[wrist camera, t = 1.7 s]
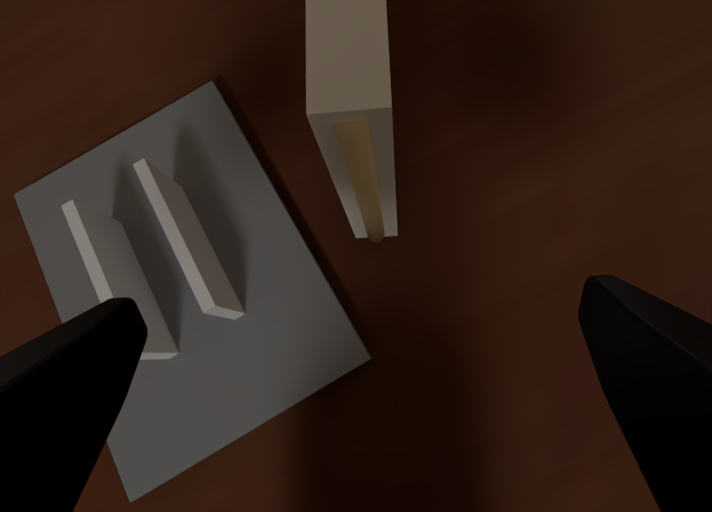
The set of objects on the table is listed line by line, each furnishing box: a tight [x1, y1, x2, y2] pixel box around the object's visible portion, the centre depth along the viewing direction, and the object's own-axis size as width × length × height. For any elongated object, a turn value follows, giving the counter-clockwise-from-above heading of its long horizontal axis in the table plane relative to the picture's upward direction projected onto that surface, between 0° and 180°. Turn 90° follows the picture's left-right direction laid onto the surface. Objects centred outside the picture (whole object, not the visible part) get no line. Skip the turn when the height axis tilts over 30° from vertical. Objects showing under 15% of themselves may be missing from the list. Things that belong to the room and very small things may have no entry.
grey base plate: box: [14, 81, 372, 502], centre depth 21 cm, size 18×13×4 cm
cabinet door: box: [306, 0, 398, 243], centre depth 17 cm, size 6×2×12 cm, turn 2°
